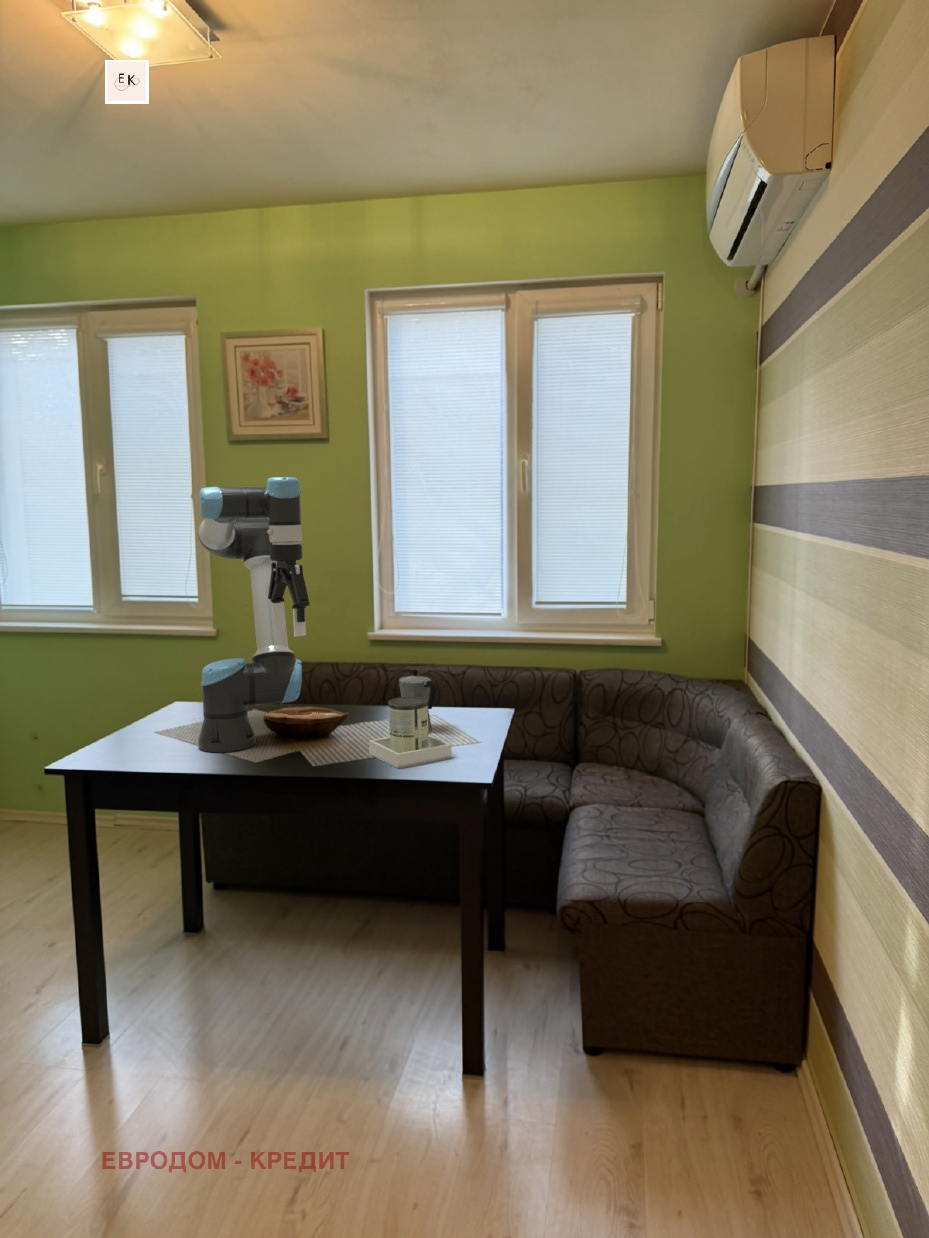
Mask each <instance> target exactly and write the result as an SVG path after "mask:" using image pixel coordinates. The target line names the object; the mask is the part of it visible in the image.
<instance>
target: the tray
mask: <svg viewBox="0 0 929 1238" xmlns="http://www.w3.org/2000/svg"><path fill="white" fill-rule="evenodd" d="M428 736H429V748H425V749H420V750H415V751H409V752H404V753H397V752H395V751H393V750H391V749H390V736H389V737H388V736H387V737H383V738H382V737H381V738H376V739H371V740H368V743H369V744H368V747H369V750H368V751H369V755H371V756H373V757H374V756H375V759H378V760H380V761H381V762H382V761H383V762H384V763H386V764H388V765H390V766H391V767H393V768H395V769H397V770H399V769H403V768H410V767H414V766H420V765H423V764H424V765H426V764H428V763H429V764H430V763H433V762H438V761H444V760H449V759H452V744H451V743H450V742H449V743H448V742H446V741H444V740H441V739H439V738H437V737H435V736H433V735H429V734H428Z"/></svg>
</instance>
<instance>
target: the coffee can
mask: <svg viewBox="0 0 929 1238" xmlns="http://www.w3.org/2000/svg"><path fill="white" fill-rule="evenodd" d="M387 705H388V718H389V719H388V725H389V727H388V728H389V737H390V749H391V750H393V751H395V752H397V753H404V752H409V751H415V750H420V749H425V748H429V736H428V735H429V732H428V711H429V709H428V705H429V702H428V700H427V699H425V698H422V697H401V696H400V697H394V698H391V699H389V700H388V702H387Z"/></svg>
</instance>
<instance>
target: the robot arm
mask: <svg viewBox="0 0 929 1238" xmlns="http://www.w3.org/2000/svg"><path fill="white" fill-rule="evenodd" d="M266 482H267V483H266V486H256V487H255V486H242V487H241V486H233V487H232V486H219V487H218V486H209V487H202V488H200V490H199V493H198V494H199V495H198V496H199V513H200V516H201V518H203V521H202V522H201V523H200V525H199V526H198V527H199V528H198V539H199V542H200V544H201V545H202V547H203V548H204V549H205V550H206V551H208V552H209V553H211V554H212V555H215V556H217V557H220V558H223V559H226V560H227V559H228V560H243V566H244V567H245V568H247V570H249V572H250V573H249V575H250V584H251V596H252V608H253V618H254V630H255V639H256V641H255V642H256V651H255V653H254V654H253V655H252V656H251V658H252V659H251V660H252V662H250V663H249V662H247V661H246V659H245V658H242V657H236V658H235V657H234V658H226V659H221V660H220V659H219V660H217V661H216V660H215V661H213V662H211V663H209V664H206V665H205V666H204V667H203V668H202V669H201V670H202V671H201V682H200V686H201V687H202V688H201V689H202V707H203V708H202V710H203V721H202V724H201V727H200V732H199V735H198V738H197V743H198V749H199V750H201V751H203V752H209V753H230V752H232V753H233V752H238V751H242V750H246V749H249V748H251V747H254V745H256V741H257V739H256V733H255V731H254V728H253V725H252V723H251V721H250V718H249V714H248V713H249V711H248V707H251V706H259V705H260V706H263V705H272V704H274V705H275V704H284V703H290V702H295V701H297V700H298V698H299V696H300V694H301V688H302V679H303V666H302V660H300V659H298V658H296V655H295V652H294V651H293V650H292V649H290V648H289V642H288V631H287V621H286V610H285V599H284V595H285V592H286V588H288V591H289V595H290V596H291V600H292V603H293V604H292V606H291V609H292V616H293V617H292V619H293V637H294V638H295V637H304V636H307V623H306V621H307V620H306V608H307V607H308V606H310V599H309V595H308V589H307V585H306V582H305V577H304V572H303V571H304V570H303V569H304V568H303V564H297V561H300V560H301V561H302V559H303V546H302V544H301V542H302V541H303V535H302V533H303V532H302V531H303V530H302V522H301V521H302V517H301V489H300V480H299V479H298V478H297V477H291V476H288V477H285V476H282V477H281V476H279V477H277V476H276V477H275V476H274V477H269V478H268V479H267V481H266Z"/></svg>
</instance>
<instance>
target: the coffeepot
mask: <svg viewBox="0 0 929 1238" xmlns="http://www.w3.org/2000/svg"><path fill="white" fill-rule="evenodd" d="M418 671H419V670H418V669H415V668H414V669H411V672H412V675H410V676H409V675H408V676H402V677H399V679H398V685H399V689H400V697H422V698H425V699H427V700H428V733H430V732H432V730H433V728H432V722H431V717H430V711H429V710H431V709H433V705H434V701H435V698H436V693H437V686H436V685H435V683H434V682H433V680H432V679H431V678H429V677H427V676H422V675H418Z"/></svg>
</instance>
